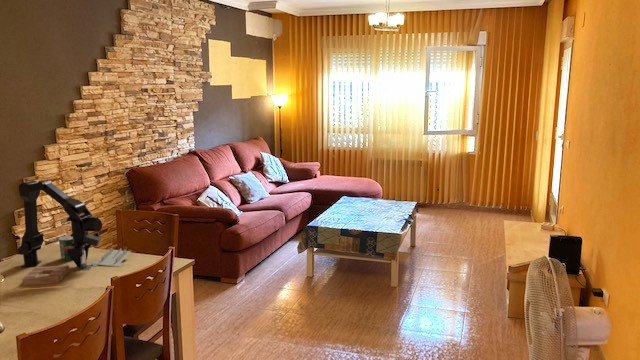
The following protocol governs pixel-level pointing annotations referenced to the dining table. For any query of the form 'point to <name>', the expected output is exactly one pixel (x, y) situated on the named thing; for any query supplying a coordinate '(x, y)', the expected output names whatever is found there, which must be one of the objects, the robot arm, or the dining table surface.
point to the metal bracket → (112, 258)
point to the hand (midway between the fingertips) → (82, 263)
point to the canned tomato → (65, 247)
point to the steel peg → (83, 261)
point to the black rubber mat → (83, 269)
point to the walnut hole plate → (46, 275)
